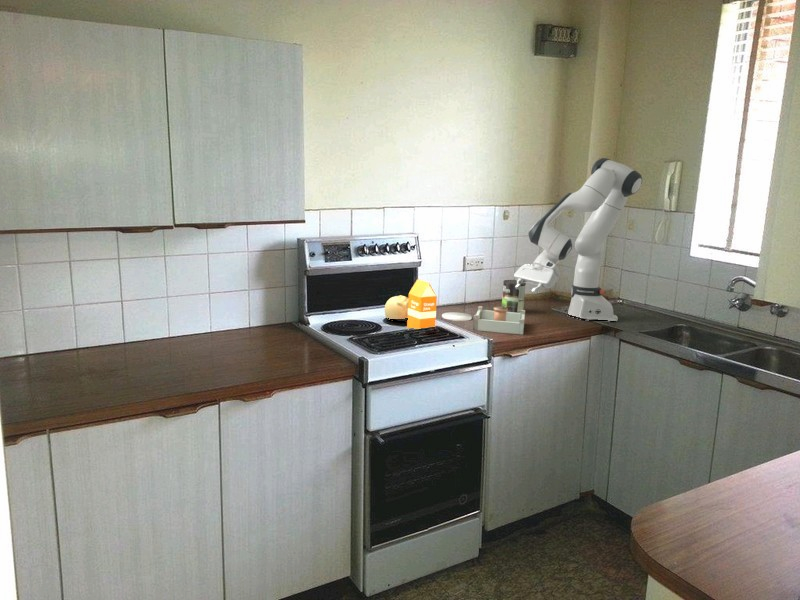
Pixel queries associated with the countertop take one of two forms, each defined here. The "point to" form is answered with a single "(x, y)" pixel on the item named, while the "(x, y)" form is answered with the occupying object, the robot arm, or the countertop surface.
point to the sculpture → (397, 307)
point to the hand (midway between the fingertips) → (524, 290)
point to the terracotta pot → (500, 313)
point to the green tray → (499, 322)
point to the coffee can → (513, 296)
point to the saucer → (456, 316)
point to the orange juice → (421, 306)
